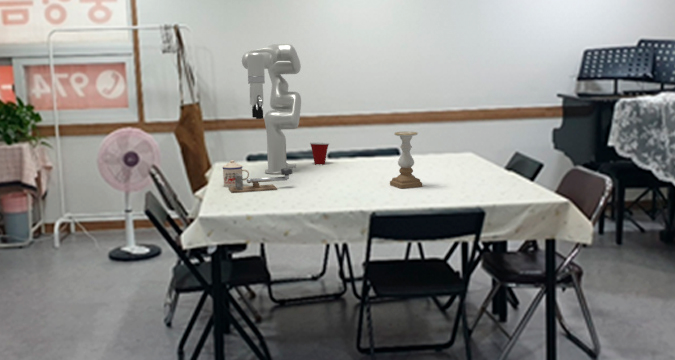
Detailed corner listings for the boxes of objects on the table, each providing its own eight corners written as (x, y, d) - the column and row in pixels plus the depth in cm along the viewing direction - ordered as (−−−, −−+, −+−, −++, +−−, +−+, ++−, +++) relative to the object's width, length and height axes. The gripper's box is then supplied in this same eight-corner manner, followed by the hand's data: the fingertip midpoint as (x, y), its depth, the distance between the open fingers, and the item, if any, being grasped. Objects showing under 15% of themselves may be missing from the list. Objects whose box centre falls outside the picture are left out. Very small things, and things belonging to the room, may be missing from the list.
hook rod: (291, 179, 307) (290, 167, 306) (293, 181, 302) (293, 169, 301) (245, 182, 301) (245, 170, 300) (247, 184, 296) (247, 172, 296)
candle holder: (389, 185, 305) (389, 132, 301) (410, 183, 310) (410, 130, 306) (401, 188, 295) (401, 134, 291) (422, 186, 300) (423, 132, 296)
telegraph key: (272, 186, 308) (272, 170, 306) (277, 189, 298) (276, 174, 297) (228, 189, 302) (227, 173, 301) (231, 193, 293) (231, 177, 291)
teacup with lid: (221, 187, 306) (220, 162, 304) (224, 184, 315) (223, 159, 313) (248, 187, 307) (247, 161, 305) (250, 183, 315) (249, 158, 314)
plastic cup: (333, 163, 375) (333, 141, 373) (322, 166, 366) (322, 143, 364) (317, 162, 380) (316, 140, 378) (306, 164, 371) (305, 142, 369)
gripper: (245, 80, 315) (246, 117, 318) (251, 80, 299) (252, 119, 302) (261, 79, 317) (262, 116, 320) (268, 80, 301) (269, 119, 304)
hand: (257, 118), depth 311 cm, fingers open, 9 cm apart
